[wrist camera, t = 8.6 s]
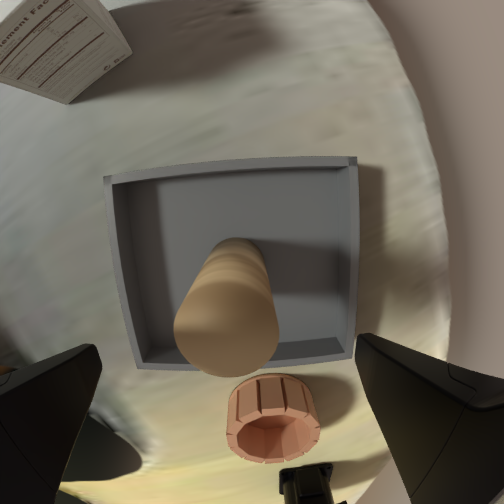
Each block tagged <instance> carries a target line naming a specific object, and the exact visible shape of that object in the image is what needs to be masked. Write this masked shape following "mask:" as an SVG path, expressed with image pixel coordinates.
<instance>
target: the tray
mask: <svg viewBox="0 0 504 504" xmlns="http://www.w3.org/2000/svg"><path fill="white" fill-rule="evenodd" d="M103 179H104V193H105V205H106V215H107V224H108V232H109V240H110V247H111V254H112V260H113V266H114V272H115V278H116V283H117V288H118V293H119V298H120V303H121V307H122V312H123V316H124V321H125V325H126V329H127V333H128V337H129V341H130V344H131V348H132V352H133V355H134V359H135V362H136V366H137V369H149V370H179V371H201V370H199V369H198V368H196V367H194V366H193V365H192V364H191V363H189V362H188V361H187V360H186V359H185V357H184V356H183V355H182V354H181V352H180V350H179V349H178V346H177V344H176V341H175V337H174V321H175V317H176V314H177V312H178V310H179V308H180V306H181V304H182V303H183V301H184V299H185V297H186V295H187V293H188V292H189V290H190V288H191V286H192V284H193V283H194V281H195V279H196V277H197V275H198V274H199V272H200V270H201V268H202V267H203V265H204V263H205V261H206V260H207V258H208V256H209V254H210V253H211V251H212V249H213V248H214V247H215V246H216V245H217V244H218V243H219V242H221V241H223V240H225V239H228V238H233V237H238V238H244V239H247V240H249V241H251V242H252V243H254V244H255V245H256V246H257V247H258V248H259V249H260V251H261V253H262V255H263V257H264V261H265V266H266V270H267V275H268V279H269V284H270V288H271V293H272V297H273V302H274V306H275V311H276V316H277V320H278V325H279V342H278V346H277V348H276V351H275V352H274V354H273V356H272V357H271V359H270V360H269V361H268V362H267V363H266V364H265V365H264V366H262V367H261V368H275V367H287V366H297V365H307V364H315V363H323V362H331V361H338V360H344V359H351V358H352V354H353V345H354V336H355V325H356V313H357V298H358V280H359V245H360V217H359V183H358V164H357V157H348V156H301V157H270V158H251V159H236V160H223V161H212V162H201V163H192V164H183V165H174V166H167V167H159V168H152V169H145V170H139V171H132V172H126V173H120V174H114V175H109V176H104V177H103ZM261 368H260V369H261Z"/></svg>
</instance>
